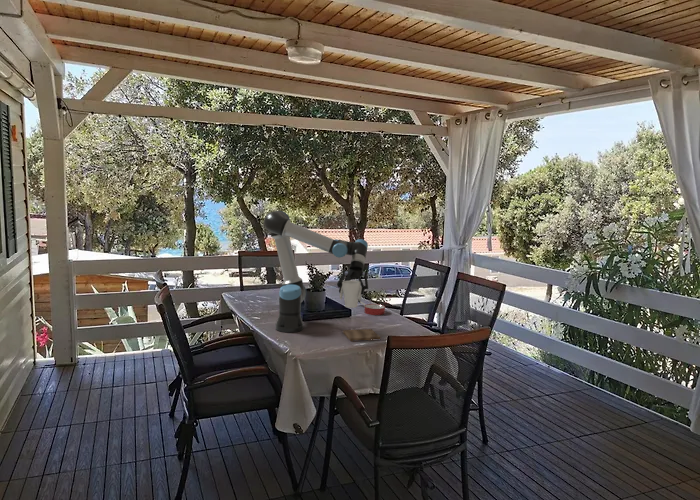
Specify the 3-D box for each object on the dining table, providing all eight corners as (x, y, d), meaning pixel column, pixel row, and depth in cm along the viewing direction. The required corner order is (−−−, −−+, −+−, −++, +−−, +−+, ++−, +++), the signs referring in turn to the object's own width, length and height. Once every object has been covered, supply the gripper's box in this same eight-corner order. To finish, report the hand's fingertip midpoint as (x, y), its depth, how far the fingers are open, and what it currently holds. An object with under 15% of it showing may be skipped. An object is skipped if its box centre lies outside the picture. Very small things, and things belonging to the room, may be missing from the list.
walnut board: (350, 341, 247) (350, 338, 247) (343, 333, 261) (343, 330, 261) (380, 339, 251) (380, 337, 251) (371, 331, 266) (371, 329, 266)
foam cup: (358, 309, 250) (358, 284, 249) (340, 308, 252) (340, 283, 251) (361, 304, 260) (361, 280, 258) (344, 304, 261) (344, 280, 260)
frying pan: (341, 306, 324) (342, 296, 323) (356, 303, 332) (357, 294, 332) (373, 316, 300) (374, 306, 299) (389, 313, 308) (389, 304, 307)
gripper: (377, 269, 266) (371, 303, 252) (339, 267, 271) (330, 301, 258) (376, 260, 260) (369, 295, 247) (336, 259, 265) (328, 293, 252)
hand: (349, 298), depth 252 cm, fingers closed on foam cup, 9 cm apart
